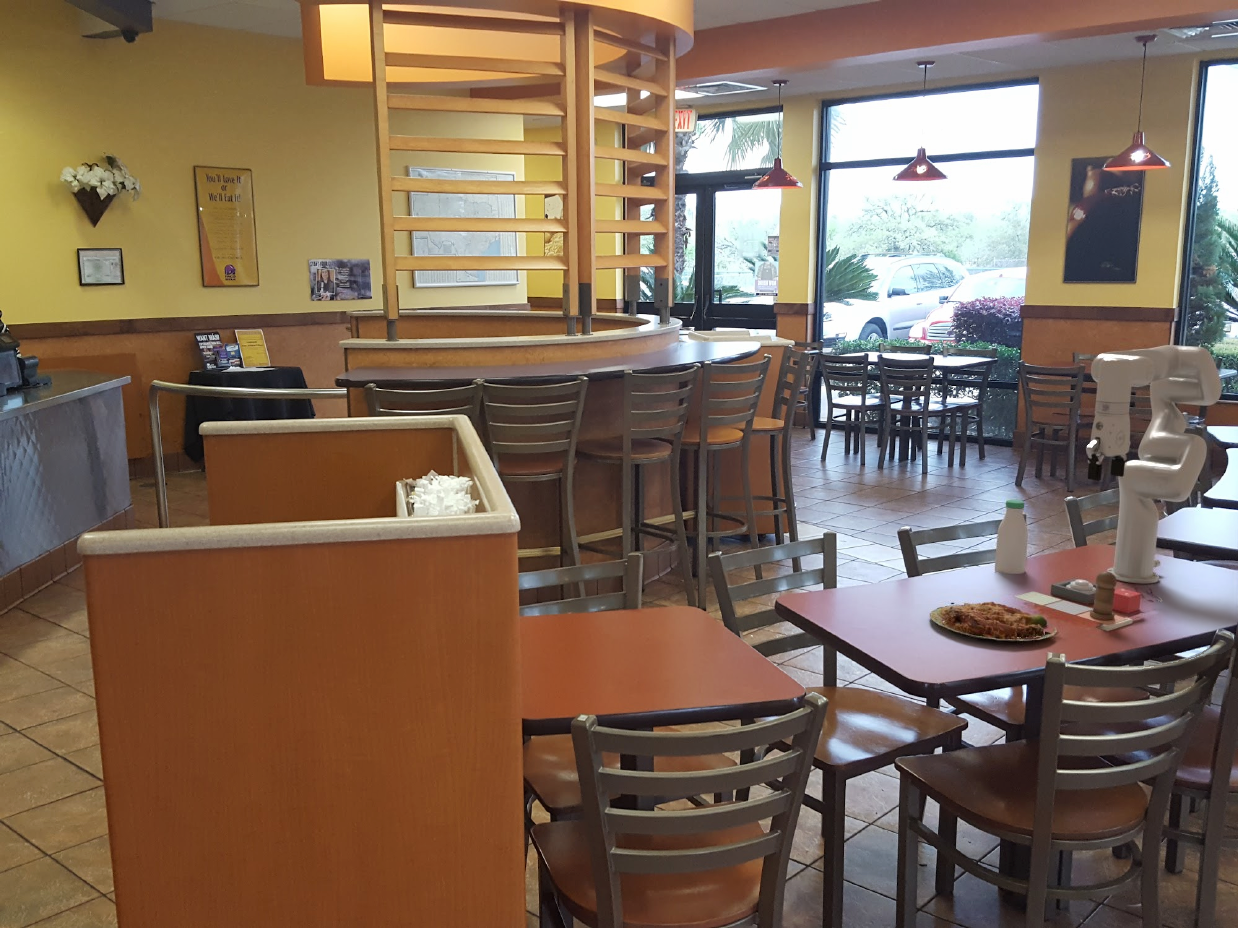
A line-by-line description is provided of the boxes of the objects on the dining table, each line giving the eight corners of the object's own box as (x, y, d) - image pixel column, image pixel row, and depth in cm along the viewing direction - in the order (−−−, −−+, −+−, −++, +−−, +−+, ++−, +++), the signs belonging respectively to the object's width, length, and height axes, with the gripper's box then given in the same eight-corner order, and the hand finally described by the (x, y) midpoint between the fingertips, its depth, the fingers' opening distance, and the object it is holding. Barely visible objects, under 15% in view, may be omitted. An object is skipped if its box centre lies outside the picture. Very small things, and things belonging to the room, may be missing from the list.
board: (1033, 594, 267) (1033, 590, 267) (1132, 623, 246) (1132, 618, 246) (1008, 600, 262) (1009, 596, 261) (1107, 630, 240) (1107, 626, 240)
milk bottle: (1029, 577, 282) (1035, 504, 278) (999, 577, 282) (1005, 504, 278) (1018, 569, 289) (1024, 498, 285) (990, 569, 289) (995, 497, 286)
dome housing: (1073, 591, 270) (1075, 578, 269) (1110, 601, 262) (1111, 588, 261) (1050, 597, 264) (1051, 584, 264) (1087, 608, 256) (1088, 594, 256)
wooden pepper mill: (1096, 612, 250) (1102, 567, 248) (1118, 617, 246) (1124, 572, 244) (1085, 615, 247) (1090, 570, 245) (1106, 621, 243) (1112, 575, 241)
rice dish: (953, 605, 262) (953, 584, 261) (1071, 624, 246) (1072, 601, 245) (910, 636, 240) (911, 613, 239) (1037, 658, 224) (1038, 633, 223)
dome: (1076, 586, 268) (1077, 575, 267) (1102, 594, 262) (1103, 582, 261) (1059, 591, 264) (1060, 580, 263) (1085, 598, 258) (1086, 587, 257)
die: (1119, 608, 257) (1121, 587, 256) (1138, 613, 253) (1141, 592, 252) (1107, 611, 254) (1109, 590, 253) (1127, 617, 250) (1129, 595, 249)
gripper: (1106, 413, 250) (1099, 484, 253) (1146, 408, 260) (1139, 476, 263) (1077, 409, 256) (1071, 478, 259) (1117, 404, 266) (1111, 471, 269)
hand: (1105, 477), depth 261 cm, fingers open, 9 cm apart
